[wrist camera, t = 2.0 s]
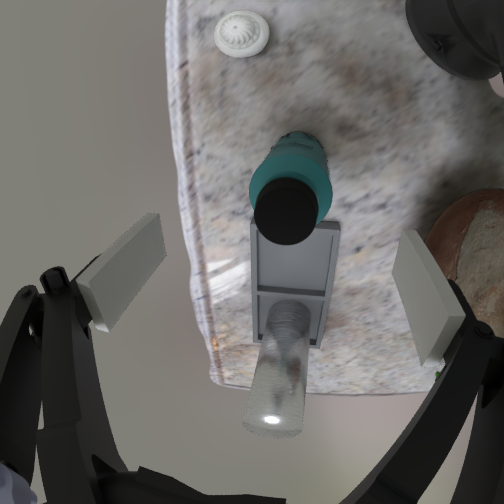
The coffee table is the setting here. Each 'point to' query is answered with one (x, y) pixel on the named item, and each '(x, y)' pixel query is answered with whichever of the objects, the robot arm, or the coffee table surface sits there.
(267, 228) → the beverage bottle
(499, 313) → the jug
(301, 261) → the tray
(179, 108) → the coffee table surface
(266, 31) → the white lidded jar
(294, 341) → the canister
